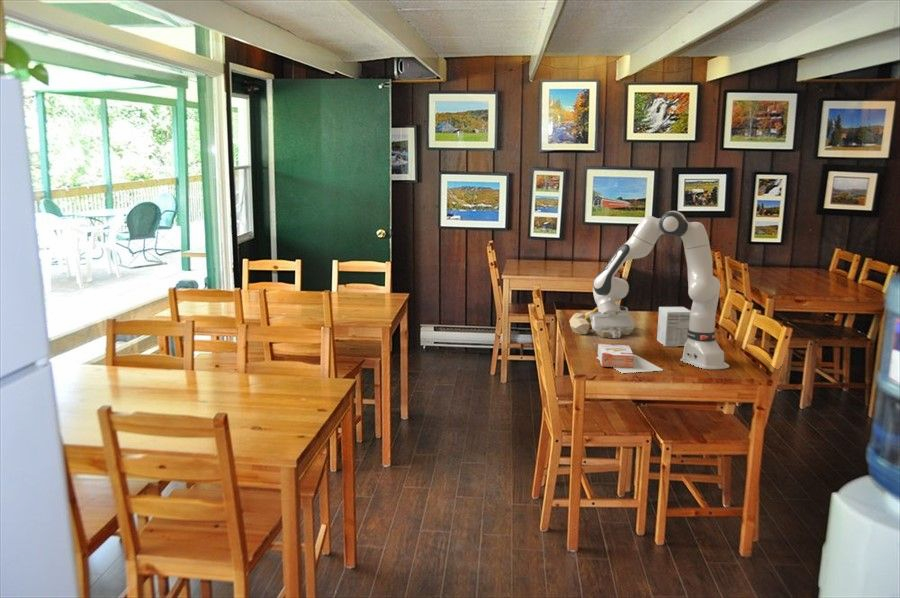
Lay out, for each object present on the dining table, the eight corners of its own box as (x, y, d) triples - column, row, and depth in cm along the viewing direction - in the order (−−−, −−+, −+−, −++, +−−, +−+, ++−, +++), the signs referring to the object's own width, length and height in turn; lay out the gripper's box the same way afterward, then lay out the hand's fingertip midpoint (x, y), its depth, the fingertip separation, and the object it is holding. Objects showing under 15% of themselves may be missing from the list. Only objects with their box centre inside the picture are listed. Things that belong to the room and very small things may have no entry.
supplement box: (691, 346, 376) (693, 312, 373) (664, 346, 376) (667, 312, 372) (681, 340, 389) (684, 306, 386) (656, 340, 389) (658, 306, 385)
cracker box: (628, 343, 355) (634, 355, 335) (627, 355, 357) (633, 368, 336) (597, 342, 357) (602, 354, 336) (597, 354, 358) (601, 367, 337)
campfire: (641, 328, 415) (643, 297, 411) (624, 342, 385) (626, 308, 382) (579, 321, 431) (581, 291, 427) (558, 333, 401) (560, 301, 398)
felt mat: (664, 371, 334) (664, 370, 334) (622, 373, 329) (622, 372, 329) (635, 355, 358) (635, 354, 358) (596, 357, 354) (596, 357, 353)
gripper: (590, 309, 357) (598, 334, 349) (630, 307, 362) (639, 332, 354) (586, 316, 362) (593, 341, 354) (625, 314, 367) (634, 339, 359)
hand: (616, 337), depth 354 cm, fingers closed
